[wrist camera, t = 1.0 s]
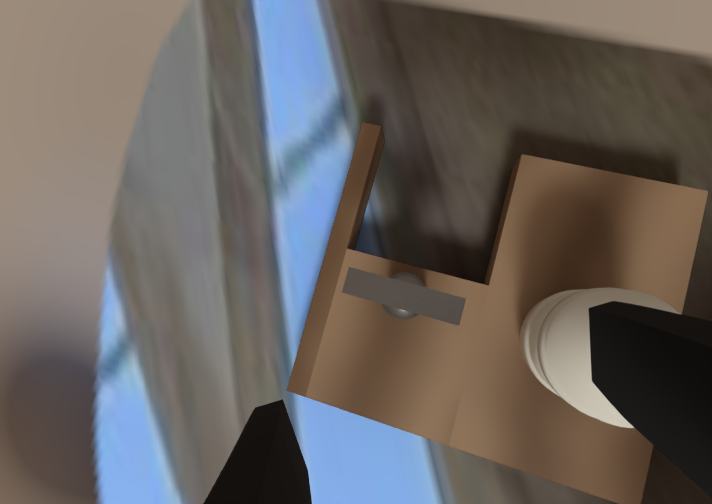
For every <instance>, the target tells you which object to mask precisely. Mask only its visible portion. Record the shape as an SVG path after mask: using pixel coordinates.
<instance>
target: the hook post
mask: <svg viewBox="0 0 712 504" xmlns="http://www.w3.org/2000/svg"><path fill="white" fill-rule="evenodd" d="M342 293H345V294H349V295H352V296H356V297H359V298H363V299H366V300H370V301H373V302H377V303H380V304H382V306H383V308H384V309H385V311H386V312H387V313H388V314H389V315H391V316H393V317H395V318H397V319H410V318H413V317H415V316H417V315H418V314H419V315H422V316H426V317H430V318H433V319H437V320H440V321H444V322H447V323H451V324H454V325H458V326H459V325H460V321H461V317H462V313H463V309H464V305H465V301H466V298H462V297H459V296H455V295H451V294H448V293H444V292H440V291H437V290H433V289H429V288H426V287H425V285H424V283H423V282H422V281H421V280H420V279H419V278H418V277H417V276H415V275H413V274H411V273H407V272H400V273H396V274H393V275H391V276H390V277H385V276H381V275H377V274H374V273H370V272H366V271H363V270H359V269H355V268H352V267H349V268H348V272H347V275H346V279H345V282H344V286H343V290H342Z"/></svg>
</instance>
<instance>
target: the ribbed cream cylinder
mask: <svg viewBox="0 0 712 504" xmlns="http://www.w3.org/2000/svg"><path fill="white" fill-rule="evenodd" d="M611 301H617V302H624V303H630V304H635V305H640V306H645V307H650V308H654V309H659V310H663V311H668V312H672V313H677V314H679V313H678V312H677V311H676V310H675V309H674V308H673V307H671V306H670V305H669V304H667V303H665V302H664V301H662V300H660V299H659V298H656V297H654V296H652V295H649V294H646V293H643V292H639V291H633V290H626V289H621V288H611V287H607V288H592V289H579V290H567V291H562V292H559V293H555V294H553V295H551V296H548V297H546V298H544V299H542V300H541V301H539V302H538V303H537V304H535V305H534V306H533V307H532V308H531V309H530V311H529V312H528V313H527V315H526V316H525V318H524V321H523V323H522V326H521V330H520V348H521V353H522V356H523V358H524V361H525V362H526V364H527V366H528V368H529V369H530V370H531V372H532V373H533V374H534V376H535V377H536V378H537V379H538V380H539V381H540V383H542V384H543V385H544V386H545V387H546V388H548V389H549V390H551V391H552V392H553V393H555V394H556V395H558V396H560V397H561V398H562V399H564V400H565V401H566V402H567V403H569V404H570V405H572V406H573V407H575V408H576V409H578V410H579V411H581V412H583V413H584V414H586V415H588V416H591V417H594V418H596V419H599V420H601V421H603V422H606V423H608V424H611V425H615V426H619V427H626V428H634V427H633V426H632V425H631V424H630V423H629V422H628V421H627V420H626V419H624V417H623V416H622V415H621V414H620V413H619V412H618V411H617V410H616V409H615V408H614V406H613V405H612V404H611V403H610V402H609V401H608V400H607V399H606V397H605V396H604V395H603V394H602V393H601V391H600V390H599V389H598V388H597V387H596V386H595V384H594V383H593V382H592V375H591V352H590V330H589V308H591V307H594V306H597V305H601V304H604V303H607V302H611Z"/></svg>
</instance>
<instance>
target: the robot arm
mask: <svg viewBox="0 0 712 504" xmlns="http://www.w3.org/2000/svg"><path fill="white" fill-rule="evenodd" d="M589 330H590V352H591V375H592V382H593V383H594V384H595V386H596V387H597V388H598V389H599V390H600V391H601V393H602V394H603V395H604V396H605V397H606V399H607V400H608V401H609V402H610V403H611V404H612V405H613V406H614V408H615V409H616V410H617V411H618V412H619V413H620V414H621V415H622V416H623V417H624V419H626V420H627V421H628V422H629V423H630V424H631V425H632V426H633V427H634V428H635V429H636V430H637V431H639V432H640V433H641V434H642V435H643V436H644V437H645V438H646V439H647V440H648V441H650V442H651V443H652V444H653V445H654V446H655V447H656V448H657V449H658V450H660V451H661V452H662V453H663V454H664V455H665V456H666V457H667V458H669V459H670V460H671V461H672V462H673V463H674V464H675V465H676V466H678V467H679V468H680V469H681V470H682V471H683V472H684V473H685V474H687V475H688V476H689V477H690V478H691V479H692V480H693V481H694V482H696V483H697V484H698V485H699V486H700V487H701V488H702V489H703V490H705V491H706V492H707V493H708V494H709V495H710V496H711V497H712V321H707V320H703V319H698V318H694V317H690V316H685V315H681V314H677V313H672V312H668V311H663V310H659V309H654V308H650V307H645V306H640V305H635V304H630V303H624V302H617V301H611V302H607V303H604V304H601V305H597V306H594V307H591V308H589ZM204 504H312V501H311V493H310V485H309V476H308V470H307V467H306V464H305V461H304V458H303V456H302V453H301V450H300V447H299V444H298V441H297V439H296V436H295V433H294V430H293V427H292V424H291V422H290V419H289V416H288V413H287V410H286V407H285V405H284V402H283V400H279V401H276V402H273V403H269V404H266V405H263V406H259V407H256V408H255V409H254V410H253V412H252V414H251V416H250V418H249V419H248V421H247V423H246V425H245V427H244V429H243V431H242V433H241V435H240V437H239V439H238V441H237V443H236V445H235V447H234V449H233V451H232V453H231V455H230V456H229V458H228V460H227V462H226V464H225V466H224V468H223V470H222V471H221V473H220V475H219V477H218V479H217V480H216V482H215V484H214V486H213V488H212V489H211V491H210V493H209V495H208V497H207V498H206V500H205V502H204Z"/></svg>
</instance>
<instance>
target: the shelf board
mask: <svg viewBox="0 0 712 504" xmlns="http://www.w3.org/2000/svg"><path fill="white" fill-rule="evenodd" d="M384 142H385V140H384V136H383V132H382V128H381V126H378V125H373V124H368V123H363V122H362V125H361V129H360V132H359V136H358V140H357V143H356V147H355V150H354V154H353V157H352V161H351V164H350V168H349V171H348V175H347V178H346V182H345V186H344V189H343V193H342V196H341V200H340V203H339V207H338V210H337V214H336V217H335V221H334V225H333V228H332V232H331V235H330V239H329V242H328V246H327V249H326V253H325V256H324V260H323V263H322V267H321V271H320V274H319V278H318V281H317V285H316V288H315V292H314V295H313V299H312V302H311V306H310V310H309V313H308V317H307V320H306V324H305V327H304V331H303V334H302V338H301V341H300V345H299V348H298V352H297V356H296V359H295V363H294V366H293V370H292V373H291V377H290V380H289V384H288V387H287V391H290V392H293V393H296V394H298V395H301V396H304V397H307V398H310V399H313V400H316V401H319V402H322V403H325V404H328V405H331V406H334V407H337V408H339V409H342V410H345V411H348V412H351V413H354V414H357V415H360V416H363V417H366V418H369V419H372V420H375V421H378V422H380V423H383V424H386V425H389V426H392V427H395V428H398V429H401V430H404V431H407V432H410V433H413V434H416V435H419V436H422V437H424V438H427V439H430V440H433V441H436V442H439V443H442V444H445V445H448V446H451V447H454V448H457V449H460V450H463V451H465V452H468V453H471V454H474V455H477V456H480V457H483V458H486V459H489V460H492V461H495V462H498V463H501V464H504V465H506V466H509V467H512V468H515V469H518V470H521V471H524V472H527V473H530V474H533V475H536V476H539V477H542V478H545V479H547V480H550V481H553V482H556V483H559V484H562V485H565V486H568V487H571V488H574V489H577V490H580V491H583V492H586V493H589V494H591V495H594V496H597V497H600V498H603V499H606V500H609V501H612V502H615V503H618V504H641V501H642V496H643V492H644V487H645V482H646V478H647V473H648V468H649V464H650V459H651V455H652V450H653V444H652V443H651V442H650V441H648V440H647V439H646V438H645V437H644V436H643V435H642V434H641V433H640V432H639V431H637V430H636V429H635V428H626V427H619V426H615V425H611V424H608V423H606V422H603V421H601V420H599V419H596V418H594V417H591V416H588V415H586V414H584V413H583V412H581V411H579V410H578V409H576V408H575V407H573V406H572V405H570V404H569V403H567V402H566V401H565V400H564V399H562V398H561V397H560V396H558V395H556V394H555V393H553V392H552V391H551V390H549V389H548V388H546V387H545V386H544V385H543V384H542V383H540V381H539V380H538V379H537V378H536V377H535V376H534V374H533V373H532V372H531V370H530V369H529V368H528V366H527V364H526V362H525V361H524V358H523V356H522V353H521V348H520V330H521V326H522V323H523V321H524V318H525V316H526V315H527V313H528V312H529V311H530V309H531V308H532V307H533V306H534V305H535V304H537V303H538V302H539V301H541V300H542V299H544V298H546V297H548V296H551V295H553V294H555V293H559V292H562V291H567V290H579V289H592V288H607V287H611V288H621V289H626V290H633V291H639V292H643V293H646V294H649V295H652V296H654V297H656V298H659V299H660V300H662V301H664V302H665V303H667V304H669V305H670V306H671V307H673V308H674V309H675V310H676V311H677V312H678V313H679V314H681V315H682V311H683V307H684V302H685V297H686V293H687V288H688V283H689V279H690V274H691V270H692V265H693V260H694V256H695V251H696V246H697V242H698V237H699V232H700V228H701V223H702V219H703V214H704V209H705V205H706V200H707V195H708V191H705V190H700V189H695V188H690V187H685V186H680V185H675V184H670V183H665V182H660V181H655V180H650V179H645V178H640V177H635V176H630V175H625V174H620V173H615V172H610V171H604V170H599V169H594V168H589V167H584V166H579V165H574V164H569V163H564V162H559V161H554V160H549V159H544V158H539V157H534V156H529V155H524V154H522V155H521V156H520V158H519V159H518V161H517V162H516V164H515V165H514V167H513V170H512V174H511V177H510V181H509V185H508V189H507V193H506V197H505V201H504V205H503V209H502V213H501V217H500V221H499V225H498V229H497V233H496V237H495V241H494V245H493V249H492V253H491V257H490V261H489V265H488V269H487V272H486V276H485V280H484V284H480V283H476V282H473V281H469V280H465V279H461V278H457V277H454V276H450V275H446V274H442V273H438V272H434V271H431V270H427V269H423V268H419V267H415V266H412V265H408V264H404V263H400V262H396V261H392V260H389V259H385V258H381V257H377V256H373V255H370V254H366V253H362V252H358V251H354V250H355V247H356V243H357V239H358V236H359V232H360V229H361V225H362V221H363V218H364V214H365V210H366V207H367V203H368V200H369V196H370V192H371V189H372V185H373V182H374V178H375V174H376V171H377V167H378V164H379V160H380V156H381V153H382V149H383V146H384ZM349 267H352V268H355V269H359V270H363V271H366V272H370V273H374V274H377V275H381V276H385V277H390V276H391V275H393V274H396V273H400V272H407V273H411V274H413V275H415V276H417V277H418V278H419V279H420V280H421V281H422V282H423V283H424V285H425V287H426V288H429V289H433V290H437V291H440V292H444V293H448V294H451V295H455V296H459V297H462V298H466V301H465V305H464V309H463V313H462V317H461V321H460V325H459V326H458V325H454V324H451V323H447V322H444V321H440V320H437V319H433V318H430V317H426V316H422V315H419V314H418V315H417V316H415V317H413V318H410V319H397V318H395V317H393V316H391V315H389V314H388V313H387V312H386V311H385V309H384V308H383V306H382V304H380V303H377V302H373V301H370V300H366V299H363V298H359V297H356V296H352V295H349V294H345V293H342V290H343V286H344V282H345V279H346V275H347V272H348V268H349Z"/></svg>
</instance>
